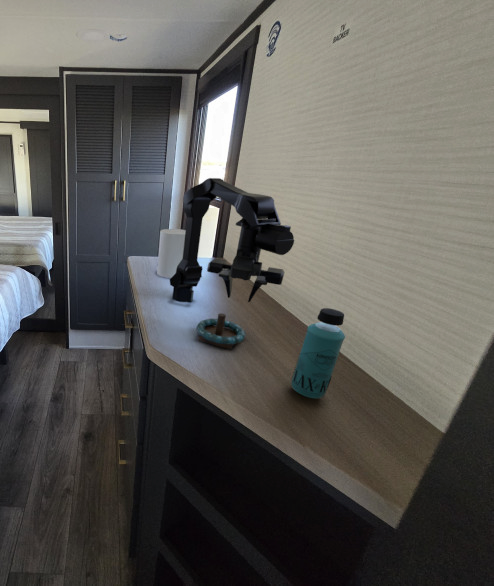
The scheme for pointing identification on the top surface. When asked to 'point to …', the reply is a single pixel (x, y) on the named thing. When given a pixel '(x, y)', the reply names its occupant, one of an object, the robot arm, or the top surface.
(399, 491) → the top surface
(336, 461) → the top surface
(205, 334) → the teal ring
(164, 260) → the canister
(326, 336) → the beverage bottle
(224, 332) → the peg stand
